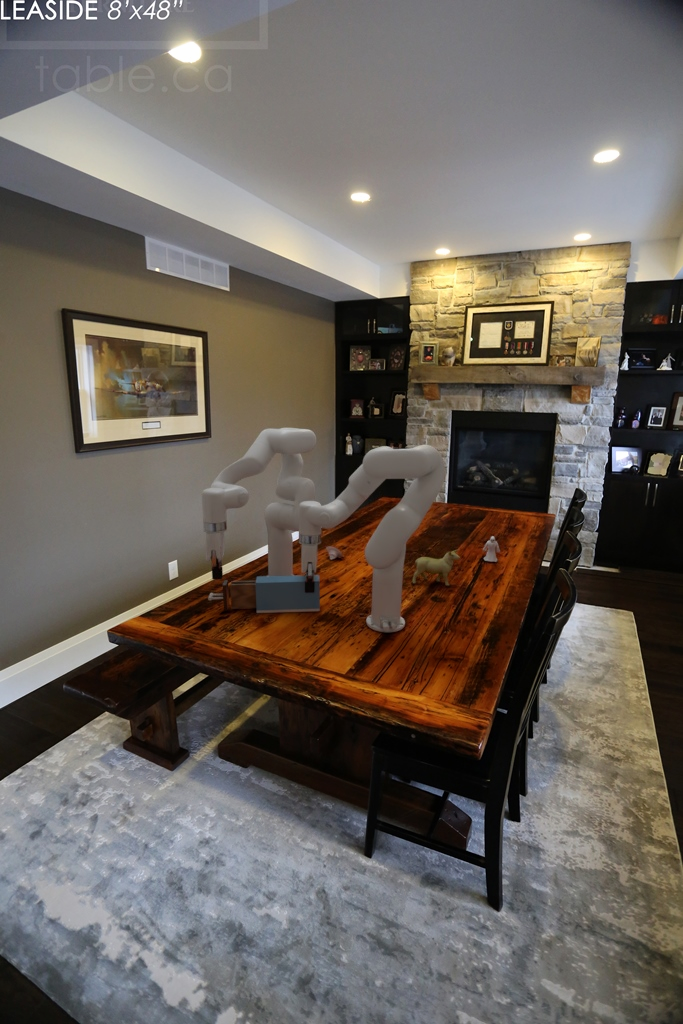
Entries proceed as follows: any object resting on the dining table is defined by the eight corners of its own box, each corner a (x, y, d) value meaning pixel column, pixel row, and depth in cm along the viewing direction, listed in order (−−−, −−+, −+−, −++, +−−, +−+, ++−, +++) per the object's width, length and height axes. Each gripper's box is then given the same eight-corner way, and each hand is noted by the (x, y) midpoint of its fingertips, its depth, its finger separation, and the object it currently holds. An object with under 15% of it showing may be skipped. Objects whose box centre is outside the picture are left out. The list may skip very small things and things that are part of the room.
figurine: (481, 562, 222) (483, 536, 219) (482, 556, 230) (484, 531, 227) (499, 564, 220) (501, 538, 217) (499, 558, 228) (501, 533, 225)
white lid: (330, 566, 224) (319, 552, 223) (336, 559, 227) (325, 546, 227) (340, 561, 218) (328, 547, 217) (346, 554, 221) (335, 540, 220)
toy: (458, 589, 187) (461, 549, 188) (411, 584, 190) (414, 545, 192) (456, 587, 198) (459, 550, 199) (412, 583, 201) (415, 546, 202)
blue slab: (256, 612, 169) (255, 582, 166) (258, 605, 174) (256, 576, 172) (319, 611, 170) (319, 581, 168) (319, 603, 176) (319, 574, 173)
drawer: (208, 611, 168) (206, 585, 166) (210, 605, 172) (209, 580, 170) (284, 609, 170) (283, 583, 168) (284, 603, 174) (284, 578, 172)
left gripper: (207, 520, 170) (210, 570, 175) (198, 532, 156) (201, 587, 160) (230, 520, 171) (232, 570, 175) (223, 532, 156) (225, 587, 161)
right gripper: (298, 530, 175) (298, 579, 179) (298, 546, 158) (298, 599, 162) (320, 530, 175) (319, 579, 180) (322, 546, 159) (321, 598, 163)
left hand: (217, 578), depth 168 cm, fingers closed
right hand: (309, 588), depth 171 cm, fingers closed on blue slab, 5 cm apart
